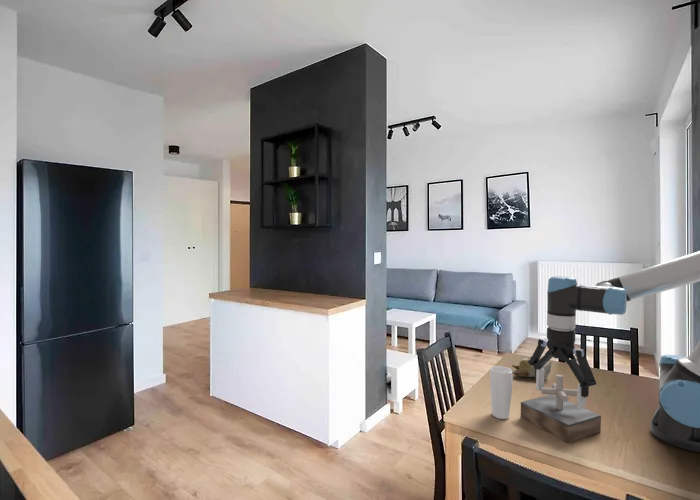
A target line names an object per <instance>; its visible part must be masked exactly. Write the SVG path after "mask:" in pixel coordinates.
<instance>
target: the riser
mask: <svg viewBox="0 0 700 500" xmlns="http://www.w3.org/2000/svg"><path fill="white" fill-rule="evenodd" d="M520 418H521V419H523V420H524V419H525V420H524V421H526V422H527V423H530V424H531V425H534V426H535V427H537V428H539V429H542V430H543V431H545V432H547V433H549V434H551V435H552V436H555V437H557V438H558V439H560V440H562V441H563V442H564V441H565V442H566V443H572V442H575V441H578V440H581V439H584V438H587V437H590V436H593V435H595V434H599V433H601V432H602V430H601V428H602V427H601V426H602V415H601V414H599V413H598V412H594V411H592V410H590V409H587V408H585V407H583V408H577V403H573V402H570V401H569V400H568V401H567V402H564V401H563V410H559V409H557V408H556V395H553V394H546V395H544V396H540V397H536V398H531V399H527V400H523V401H520Z"/></svg>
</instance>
